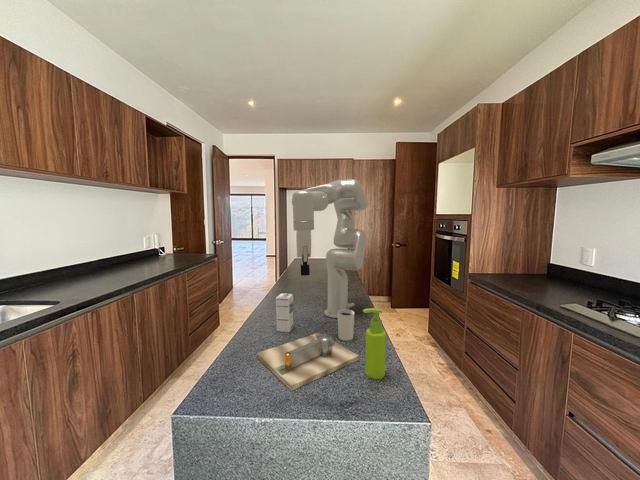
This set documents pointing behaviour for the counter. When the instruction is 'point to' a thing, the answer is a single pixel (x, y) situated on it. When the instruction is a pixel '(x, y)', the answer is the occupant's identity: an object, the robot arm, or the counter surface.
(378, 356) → the soap dispenser
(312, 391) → the counter surface
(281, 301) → the syrup box
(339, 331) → the white cup
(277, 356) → the dial board
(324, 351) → the lever
